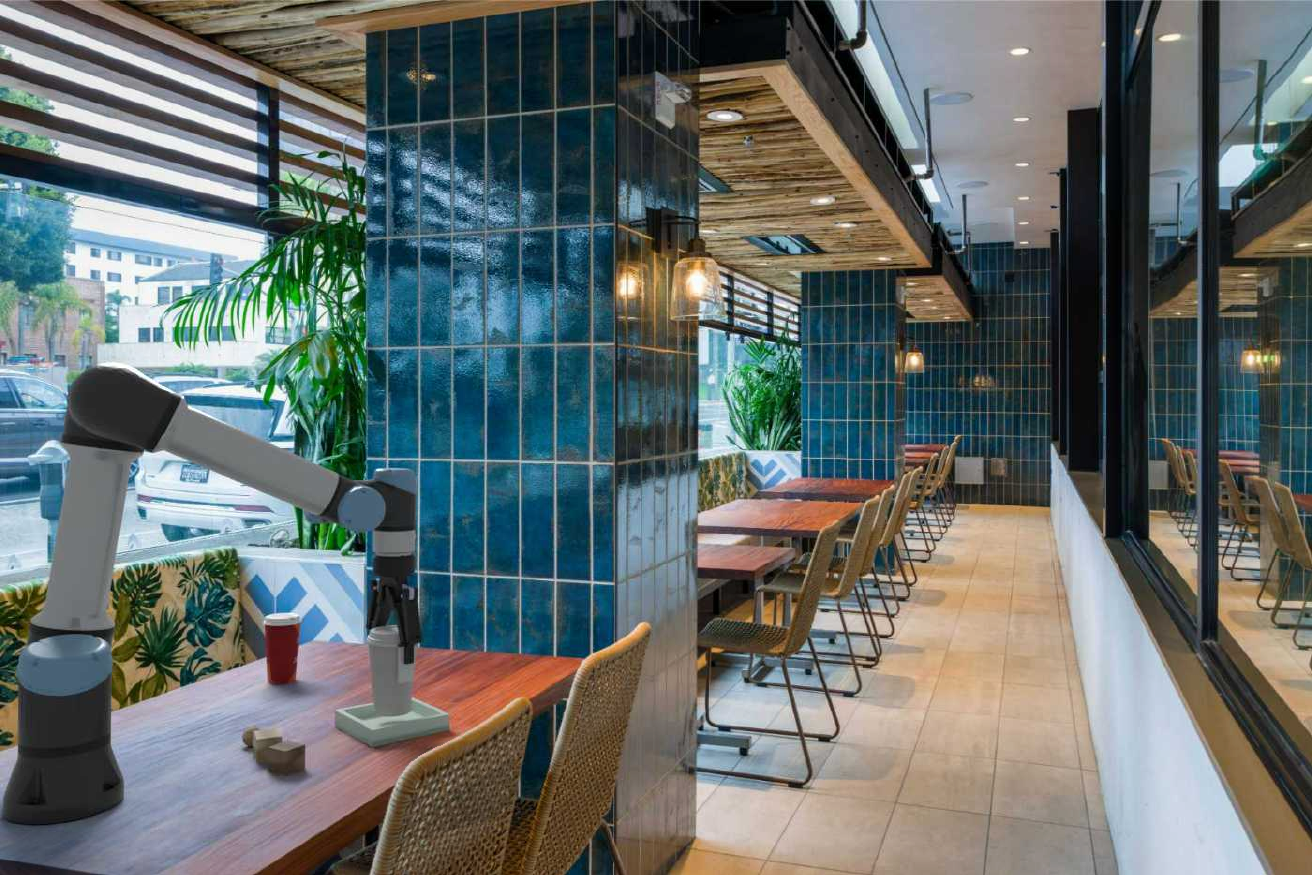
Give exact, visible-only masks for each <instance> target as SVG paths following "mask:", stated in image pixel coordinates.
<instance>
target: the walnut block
mask: <svg viewBox="0 0 1312 875" xmlns="http://www.w3.org/2000/svg"><path fill="white" fill-rule="evenodd" d="M305 769H306V743H305V744H304V743H301V742H297V741H292V740H289V739H288V740H284V741H282V742H281V743H278V744H275V745H273V746H270V747H268V762H267V772H268V773H271V774H276V775H279V776H284V777H288V776H289V775H292V774H294V773H298V772H301V771H302V770H305Z"/></svg>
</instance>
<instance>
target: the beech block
mask: <svg viewBox="0 0 1312 875" xmlns="http://www.w3.org/2000/svg"><path fill="white" fill-rule="evenodd" d="M281 742H283V735H282V732H281V730H280V727H275V728H266V729H260V730H256V731H253V746H252V755H253V757H254V761H255V764H261V763H268V747H270V746H273V745H275V744H278V743H281Z"/></svg>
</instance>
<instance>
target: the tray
mask: <svg viewBox="0 0 1312 875" xmlns="http://www.w3.org/2000/svg"><path fill="white" fill-rule="evenodd" d="M450 716H451V715H450V713H448V712H446V711H444V710H442V709H440V708H437V707H435V706H433V705H431V704H429V703H426V702H424V701H422V700H419V699H418V698H415V697H413V696H412V701H411V710H410V712H409V713H407V714H405V715H401V716H393V717H384V716H378V715H376V714H374V708H373V702H370V703H365V704H364V703H363V704H360V705H356V706H349V707H348V706H347V707H345V708H344V707H343V708H339V709H338V708H337V709H335V710H334V727H335V728H337V729H339V730H341V731H343V732H344V733H346V734H348V735H350V736H351V737H353V738H355V739H357V740H358V741H360V742H362V743H364V744H366V745H367V746H369V747H371V748H375V747H381V746H386V745H390V744H394V743H398V742H402V741H406V740H411V739H416V738H421V737H425V736H430V735H434V734H439V733H442V732H448V731H450V720H451V719H450V718H451V717H450Z"/></svg>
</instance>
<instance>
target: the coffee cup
mask: <svg viewBox="0 0 1312 875" xmlns="http://www.w3.org/2000/svg"><path fill="white" fill-rule="evenodd" d="M399 643H401V640H400V636H399V631H398V627H397V624H395V625H394V624H392V625H391V624H390V625H387V626H381V627H376V628H373V629H372V630H371V632H369V634H368V636H367V637H366V640H365V644H367V645H368V654H369V664H370V665H369V667H370V678H371V691H372V692H371V693H372V695H371V696H372V703H373V708H374V714H376V715H378V716H384V717H393V716H401V715H405V714H407V713H409V712H410V710H411V701H412V697H413V690H414V689H413V688H414V681H409V682H404V683H398V644H399ZM417 650H418V644H416V645H415V646H414V671H415V670H416V669H415V668H416V658H417Z"/></svg>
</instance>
